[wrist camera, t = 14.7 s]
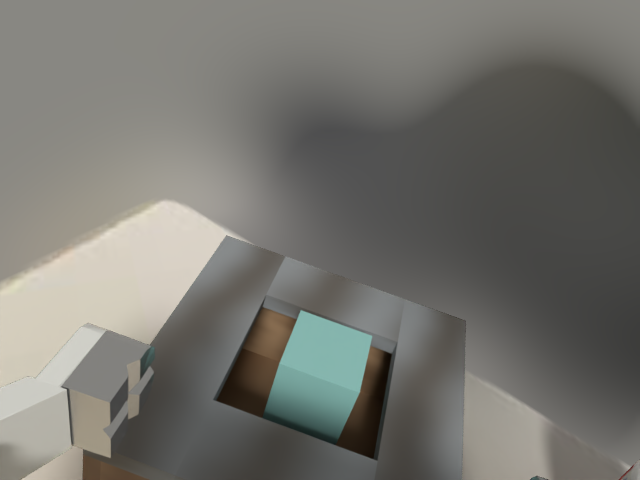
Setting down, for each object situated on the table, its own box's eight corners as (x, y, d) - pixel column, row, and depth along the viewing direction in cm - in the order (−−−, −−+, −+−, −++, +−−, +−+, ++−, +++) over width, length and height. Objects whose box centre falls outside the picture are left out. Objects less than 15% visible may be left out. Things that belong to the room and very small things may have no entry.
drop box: (415, 408, 40) (465, 320, 35) (386, 664, 27) (459, 583, 22) (207, 332, 41) (226, 235, 36) (81, 545, 28) (83, 440, 23)
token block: (324, 445, 35) (372, 336, 30) (308, 503, 32) (359, 392, 26) (264, 423, 36) (300, 310, 30) (243, 478, 32) (279, 363, 27)
